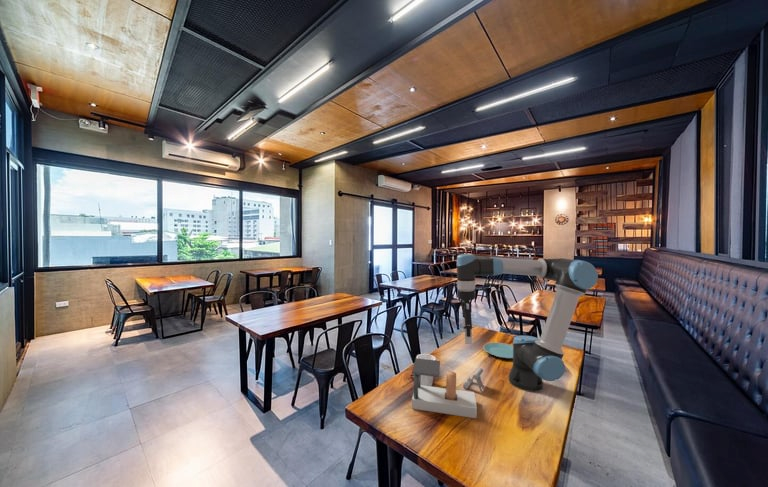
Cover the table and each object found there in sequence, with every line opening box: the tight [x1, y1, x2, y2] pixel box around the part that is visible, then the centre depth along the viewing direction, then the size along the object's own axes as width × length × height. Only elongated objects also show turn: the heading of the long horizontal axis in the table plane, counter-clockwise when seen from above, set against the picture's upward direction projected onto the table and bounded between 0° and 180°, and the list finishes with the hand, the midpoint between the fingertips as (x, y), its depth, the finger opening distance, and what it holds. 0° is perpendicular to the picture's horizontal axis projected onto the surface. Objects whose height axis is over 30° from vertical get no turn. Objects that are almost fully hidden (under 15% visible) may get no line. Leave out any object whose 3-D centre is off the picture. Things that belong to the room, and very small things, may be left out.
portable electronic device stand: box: [462, 367, 485, 392], centre depth 134 cm, size 9×8×8 cm
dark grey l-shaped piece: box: [411, 357, 441, 399], centre depth 122 cm, size 11×13×12 cm
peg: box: [445, 370, 457, 401], centre depth 119 cm, size 4×4×14 cm
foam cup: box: [415, 353, 437, 387], centre depth 137 cm, size 10×9×13 cm
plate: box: [482, 342, 513, 360], centre depth 174 cm, size 22×22×3 cm
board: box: [411, 385, 478, 419], centre depth 120 cm, size 26×12×4 cm, turn 77°
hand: (467, 337), depth 123 cm, fingers open, 13 cm apart
